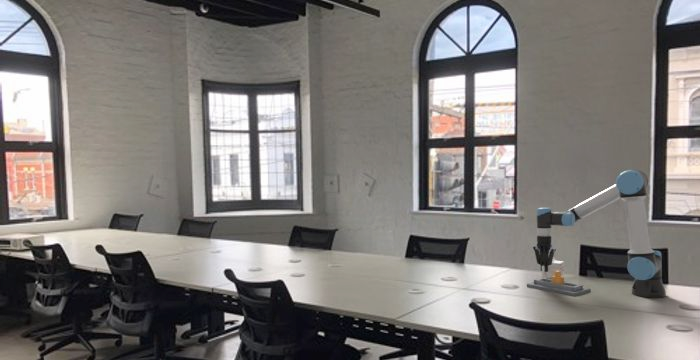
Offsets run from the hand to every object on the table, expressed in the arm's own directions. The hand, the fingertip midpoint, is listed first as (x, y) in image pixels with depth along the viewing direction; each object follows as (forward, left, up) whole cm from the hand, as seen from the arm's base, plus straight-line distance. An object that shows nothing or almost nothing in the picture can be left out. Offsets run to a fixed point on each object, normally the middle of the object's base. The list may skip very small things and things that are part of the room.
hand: (544, 277), depth 277 cm
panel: (-8, 0, -5) cm, 10 cm away
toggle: (-8, 0, -3) cm, 9 cm away
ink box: (+3, -15, -5) cm, 16 cm away
